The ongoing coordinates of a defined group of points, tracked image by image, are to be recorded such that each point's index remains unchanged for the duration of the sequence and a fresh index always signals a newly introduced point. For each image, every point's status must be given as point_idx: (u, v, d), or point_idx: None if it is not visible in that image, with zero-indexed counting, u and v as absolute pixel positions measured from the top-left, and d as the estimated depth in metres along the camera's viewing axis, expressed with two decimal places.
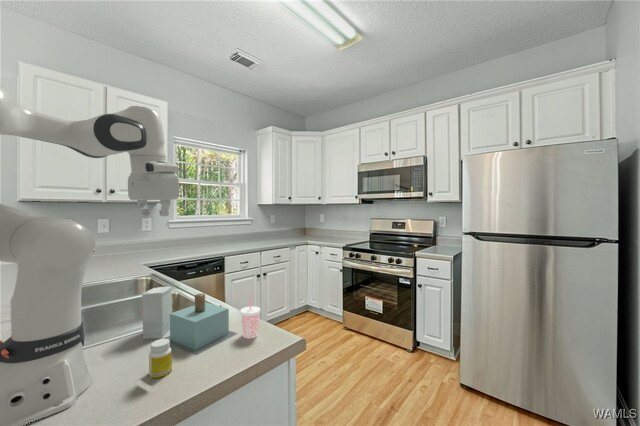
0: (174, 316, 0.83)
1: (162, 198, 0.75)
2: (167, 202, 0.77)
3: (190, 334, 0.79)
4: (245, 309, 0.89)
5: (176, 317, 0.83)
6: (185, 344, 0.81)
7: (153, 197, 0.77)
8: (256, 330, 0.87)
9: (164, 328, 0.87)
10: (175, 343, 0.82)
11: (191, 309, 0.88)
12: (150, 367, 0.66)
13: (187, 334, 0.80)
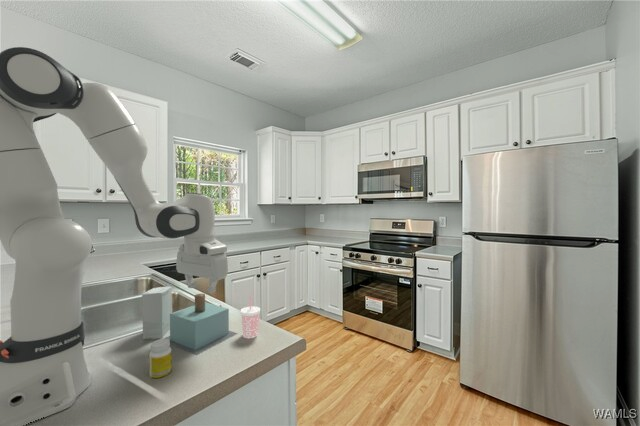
0: (174, 316, 0.83)
1: (212, 278, 0.81)
2: (216, 280, 0.84)
3: (190, 334, 0.79)
4: (245, 309, 0.89)
5: (176, 317, 0.83)
6: (185, 344, 0.81)
7: (202, 275, 0.83)
8: (256, 330, 0.87)
9: (164, 328, 0.87)
10: (175, 343, 0.82)
11: (191, 309, 0.88)
12: (150, 367, 0.66)
13: (187, 334, 0.80)
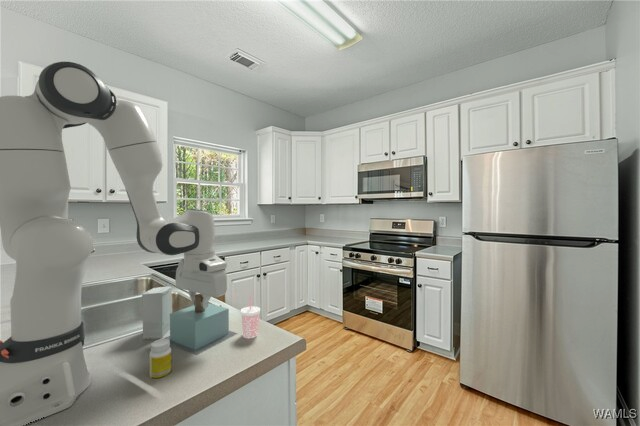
0: (174, 316, 0.83)
1: (211, 295, 0.81)
2: None
3: (190, 334, 0.79)
4: (245, 309, 0.89)
5: (176, 317, 0.83)
6: (185, 344, 0.81)
7: (201, 292, 0.83)
8: (256, 330, 0.87)
9: (164, 328, 0.87)
10: (175, 343, 0.82)
11: (191, 309, 0.88)
12: (150, 367, 0.66)
13: (187, 334, 0.80)
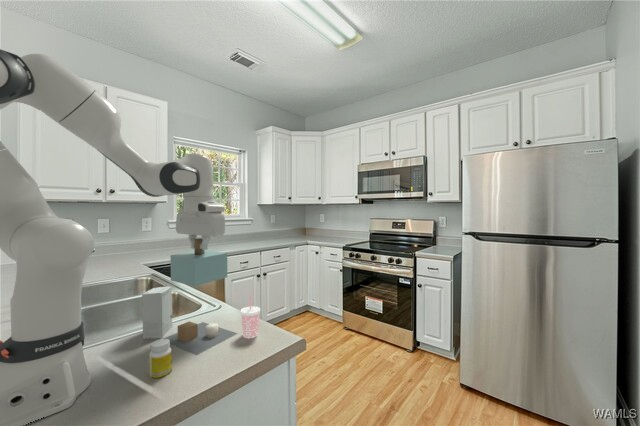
0: (174, 257, 0.86)
1: (210, 235, 0.84)
2: (208, 237, 0.88)
3: (190, 271, 0.82)
4: (245, 309, 0.89)
5: (176, 257, 0.86)
6: (185, 282, 0.84)
7: (200, 233, 0.86)
8: (256, 330, 0.87)
9: (164, 328, 0.87)
10: (175, 343, 0.82)
11: (191, 253, 0.91)
12: (150, 367, 0.66)
13: (187, 272, 0.83)
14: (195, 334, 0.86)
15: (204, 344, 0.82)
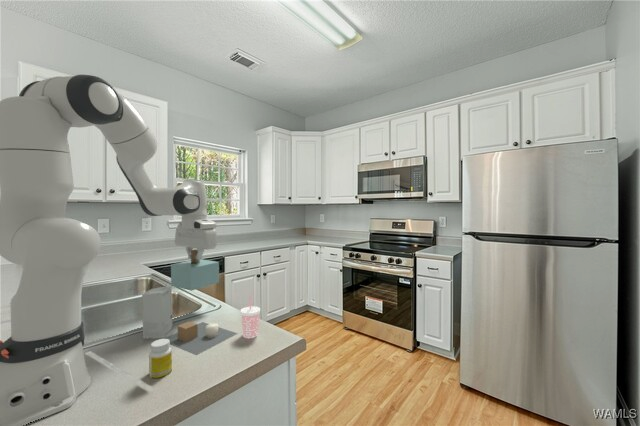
0: (174, 266, 1.03)
1: (204, 248, 1.01)
2: (202, 249, 1.04)
3: (187, 278, 0.99)
4: (245, 309, 0.89)
5: (176, 266, 1.02)
6: (183, 287, 1.01)
7: (196, 246, 1.03)
8: (256, 330, 0.87)
9: (164, 328, 0.87)
10: (175, 343, 0.82)
11: (188, 262, 1.08)
12: (150, 367, 0.66)
13: (185, 279, 1.00)
14: (195, 334, 0.86)
15: (204, 344, 0.82)
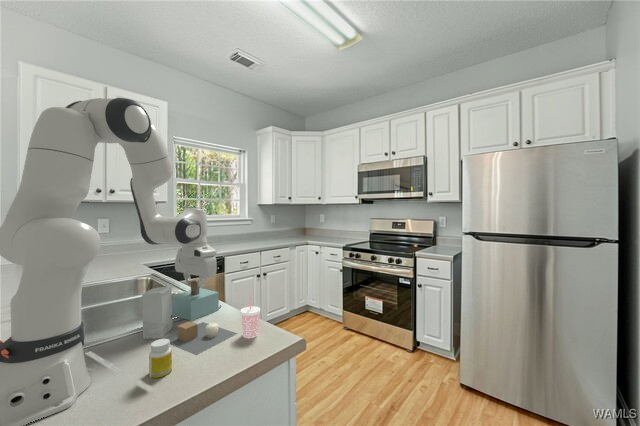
0: (174, 297, 1.03)
1: (204, 276, 1.01)
2: (204, 277, 1.04)
3: (187, 311, 0.99)
4: (245, 309, 0.89)
5: (175, 298, 1.03)
6: None
7: (196, 274, 1.03)
8: (256, 330, 0.87)
9: (164, 328, 0.87)
10: (175, 343, 0.82)
11: (188, 292, 1.08)
12: (150, 367, 0.66)
13: (185, 311, 1.00)
14: (195, 334, 0.86)
15: (204, 344, 0.82)
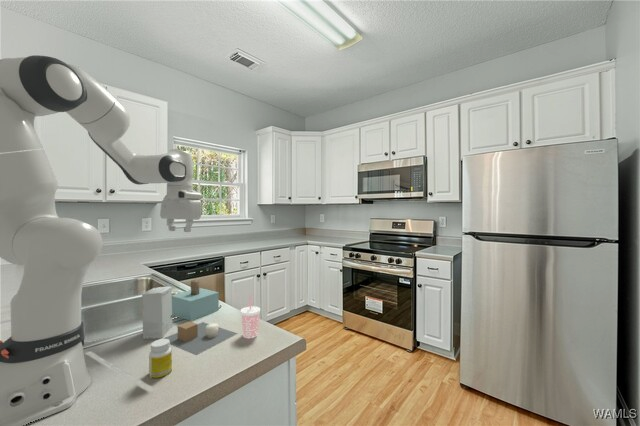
0: (174, 297, 1.03)
1: (188, 218, 0.98)
2: (191, 221, 1.01)
3: (187, 311, 0.99)
4: (245, 309, 0.89)
5: (175, 298, 1.03)
6: None
7: (180, 217, 1.01)
8: (256, 330, 0.87)
9: (164, 328, 0.87)
10: (175, 343, 0.82)
11: (188, 292, 1.08)
12: (150, 367, 0.66)
13: (185, 311, 1.00)
14: (195, 334, 0.86)
15: (204, 344, 0.82)
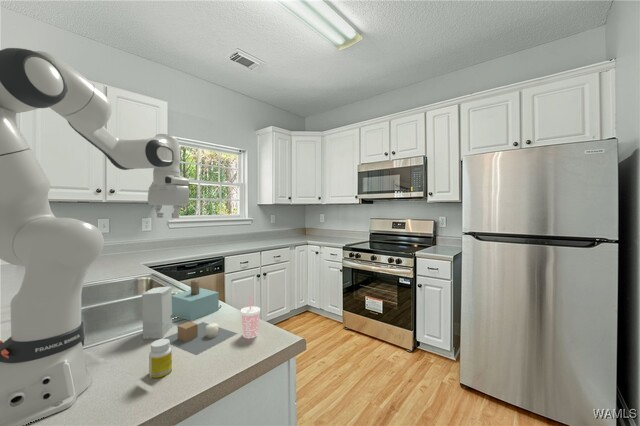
0: (174, 297, 1.03)
1: (175, 204, 0.97)
2: (179, 207, 1.00)
3: (187, 311, 0.99)
4: (245, 309, 0.89)
5: (175, 298, 1.03)
6: None
7: (168, 203, 0.99)
8: (256, 330, 0.87)
9: (164, 328, 0.87)
10: (175, 343, 0.82)
11: (188, 292, 1.08)
12: (150, 367, 0.66)
13: (185, 311, 1.00)
14: (195, 334, 0.86)
15: (204, 344, 0.82)
